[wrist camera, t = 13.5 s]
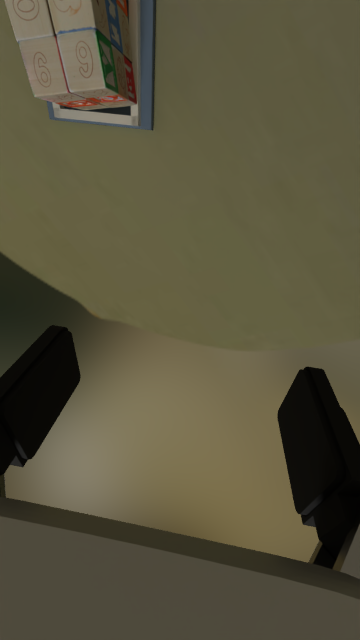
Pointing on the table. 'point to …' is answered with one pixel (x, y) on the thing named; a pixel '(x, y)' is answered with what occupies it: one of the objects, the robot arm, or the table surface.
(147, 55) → the shallow rectangular tray
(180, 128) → the table surface
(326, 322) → the table surface
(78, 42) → the stack of blocks
